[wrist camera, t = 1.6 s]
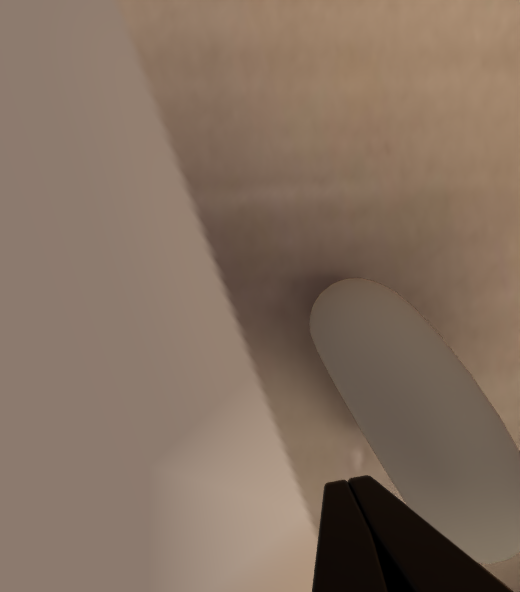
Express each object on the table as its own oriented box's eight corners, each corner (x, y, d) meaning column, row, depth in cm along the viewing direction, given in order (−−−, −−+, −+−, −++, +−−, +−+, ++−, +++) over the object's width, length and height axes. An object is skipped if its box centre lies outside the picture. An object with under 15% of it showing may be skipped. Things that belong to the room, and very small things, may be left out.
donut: (275, 282, 18) (332, 397, 8) (341, 240, 17) (483, 308, 8) (374, 439, 20) (506, 666, 11) (433, 405, 20) (622, 608, 10)
